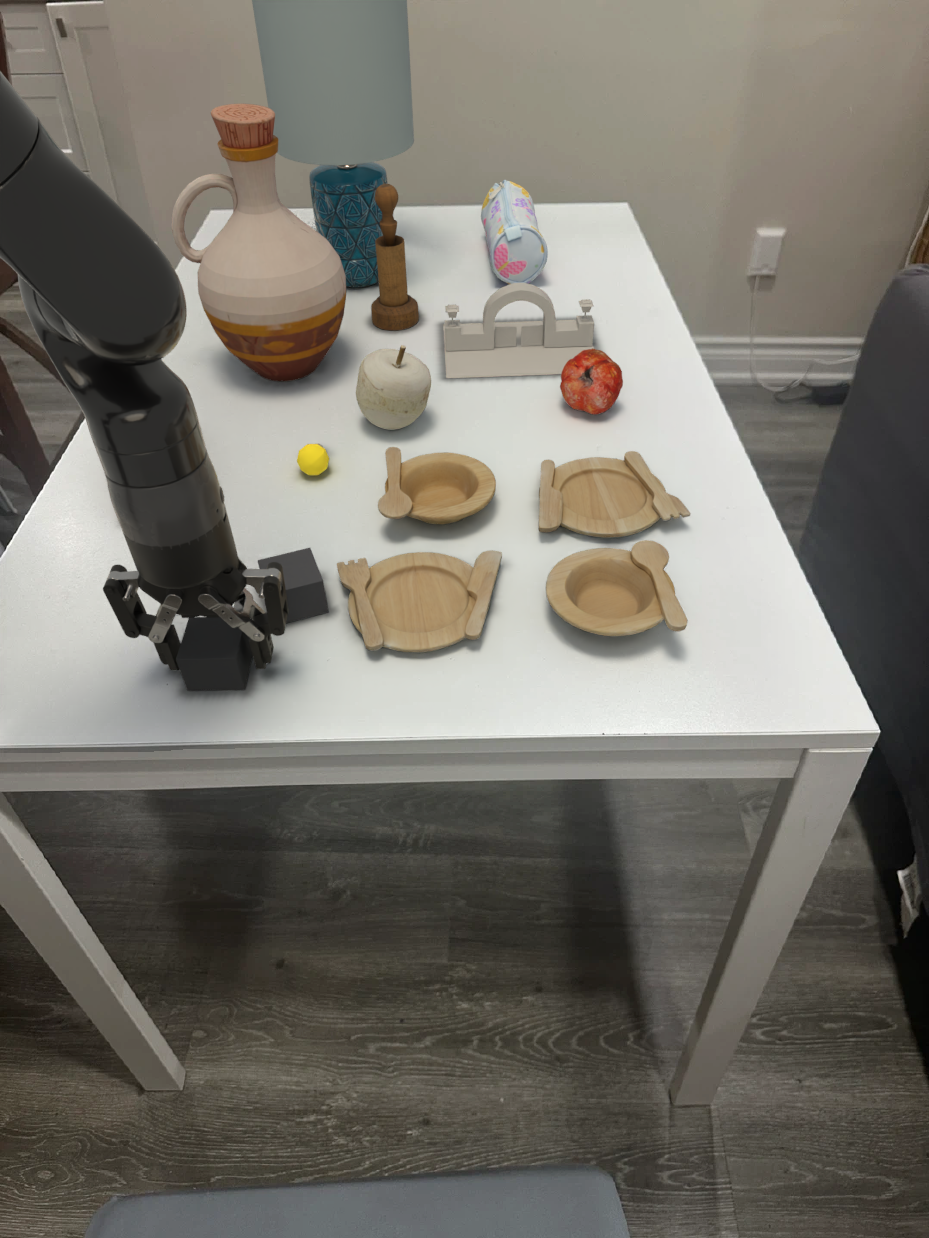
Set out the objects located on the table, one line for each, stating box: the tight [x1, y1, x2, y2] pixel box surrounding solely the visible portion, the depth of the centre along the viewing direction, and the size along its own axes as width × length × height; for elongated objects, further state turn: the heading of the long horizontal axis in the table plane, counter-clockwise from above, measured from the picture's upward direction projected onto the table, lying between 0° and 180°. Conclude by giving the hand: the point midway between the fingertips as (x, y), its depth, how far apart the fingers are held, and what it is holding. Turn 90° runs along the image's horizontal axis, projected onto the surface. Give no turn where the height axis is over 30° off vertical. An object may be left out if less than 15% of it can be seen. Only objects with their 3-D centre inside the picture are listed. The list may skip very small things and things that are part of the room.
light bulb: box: [296, 443, 330, 476], centre depth 97 cm, size 3×6×4 cm, turn 1°
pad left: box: [176, 616, 253, 692], centre depth 74 cm, size 5×5×4 cm
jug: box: [171, 103, 347, 382], centre depth 103 cm, size 20×18×30 cm
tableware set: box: [336, 446, 692, 653], centre depth 85 cm, size 35×29×4 cm
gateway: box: [442, 283, 595, 352], centre depth 114 cm, size 20×2×8 cm, turn 93°
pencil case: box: [480, 179, 549, 285], centre depth 133 cm, size 21×9×10 cm, turn 3°
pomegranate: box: [559, 348, 624, 415], centre depth 103 cm, size 7×7×10 cm
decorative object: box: [355, 344, 432, 431], centre depth 100 cm, size 9×9×10 cm
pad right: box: [257, 547, 329, 624], centre depth 80 cm, size 5×5×4 cm
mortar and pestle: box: [370, 183, 420, 331], centre depth 117 cm, size 7×6×18 cm
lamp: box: [251, 0, 415, 288], centre depth 120 cm, size 19×19×38 cm
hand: (220, 662), depth 75 cm, fingers open, 7 cm apart
